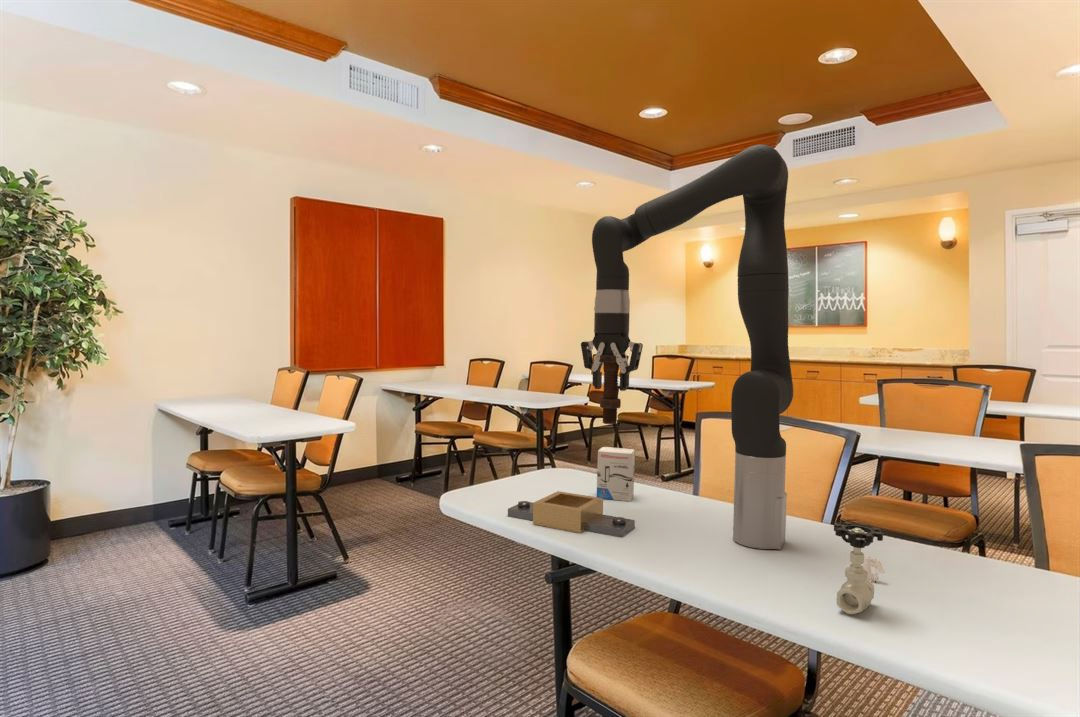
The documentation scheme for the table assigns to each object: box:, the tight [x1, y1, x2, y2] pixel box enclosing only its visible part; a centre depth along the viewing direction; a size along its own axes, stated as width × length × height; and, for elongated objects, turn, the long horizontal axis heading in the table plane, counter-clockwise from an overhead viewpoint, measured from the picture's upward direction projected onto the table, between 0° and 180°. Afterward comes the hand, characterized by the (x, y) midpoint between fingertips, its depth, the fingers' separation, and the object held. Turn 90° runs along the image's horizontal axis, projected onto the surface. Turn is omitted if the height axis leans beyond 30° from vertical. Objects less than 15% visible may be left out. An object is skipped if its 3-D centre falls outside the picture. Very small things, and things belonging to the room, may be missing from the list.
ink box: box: [596, 446, 636, 502], centre depth 151 cm, size 9×5×12 cm, turn 73°
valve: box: [833, 521, 884, 615], centre depth 92 cm, size 7×7×12 cm
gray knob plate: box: [585, 513, 636, 538], centre depth 128 cm, size 9×7×2 cm
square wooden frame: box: [532, 490, 604, 534], centre depth 132 cm, size 11×11×4 cm
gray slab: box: [507, 500, 534, 522], centre depth 137 cm, size 8×7×2 cm
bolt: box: [599, 355, 624, 425], centre depth 136 cm, size 6×5×15 cm
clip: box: [861, 555, 885, 583], centre depth 103 cm, size 5×2×4 cm, turn 41°
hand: (610, 389), depth 136 cm, fingers closed on bolt, 5 cm apart
